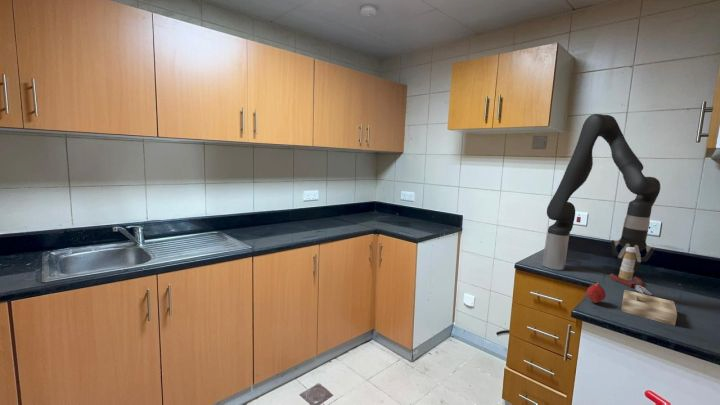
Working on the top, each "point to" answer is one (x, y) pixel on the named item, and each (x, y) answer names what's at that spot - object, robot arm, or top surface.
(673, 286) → the top surface
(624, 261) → the sprinkles bottle
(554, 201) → the robot arm
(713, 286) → the top surface
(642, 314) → the holder
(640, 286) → the pliers
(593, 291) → the onion
